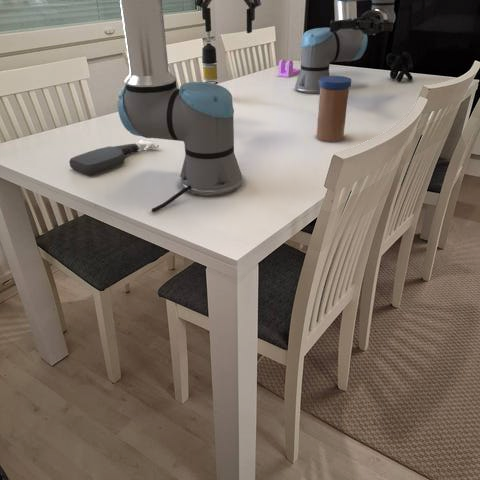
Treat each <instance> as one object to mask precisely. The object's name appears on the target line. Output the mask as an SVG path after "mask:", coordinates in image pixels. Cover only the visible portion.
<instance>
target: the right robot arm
mask: <svg viewBox="0 0 480 480" xmlns="http://www.w3.org/2000/svg"><path fill="white" fill-rule="evenodd" d="M362 1H363V2H364V1H367V0H333V3H334V4H333V5H334V20H333V19H332V20H330V24H329V27H317V28H311V29H309V30H307V31H305V32H304V33H303V34H302V39H301V55H300V73H299V74H298V77H297V80H296V82H295V87H294V88H295V91H296V92H298V93H301V94H308V95H320V87H319V78H321V77H324V76H331V74H330V63H340V62H352V61H357V60H359V59H361V58H362V56H363V55H364V54H365V51H366V49H367V46H368V36H375V35H376V34H379V33H381V32H386V31H387V32H392V31H393V28H394V23H395V21H396V13H395V0H371V9H370V10H366V11H365V12H364V13H362V15H361V16H360V17H358V15H357V13H358V12H357V10H358V9H357V2H362Z"/></svg>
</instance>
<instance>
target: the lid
mask: <svg viewBox="0 0 480 480" xmlns="http://www.w3.org/2000/svg"><path fill="white" fill-rule="evenodd" d="M351 86H352V78H351V77H348V76H343V75H330V76H324V77H321V78H319V87H321V88H325V89H332V90H341V89H347V88H349V89H350V88H351Z"/></svg>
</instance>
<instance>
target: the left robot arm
mask: <svg viewBox="0 0 480 480" xmlns="http://www.w3.org/2000/svg"><path fill="white" fill-rule="evenodd" d="M212 1H213V0H196V1H195V6H197V7H200V8H201V12H202V13H201V16H202V17H201V18H202V20H203V21H204V24H205V33H206V32H210V33H211V32H212V15H211V7H209V5H210V4H211V3H212ZM243 1H244V2H245V4H246V5H247V6H248V8H246V34H251V33H252V32H253V21H255V19H256V8H258V7H260V6H261V5H262V2H261V0H243ZM119 3H120V9H121V17H122V24H123V32H124V37H125V45H126V51H127V58H128V67H129V74H128V76H127V77H126V78H125V80H124V86H123V87H122V89H121V90H120V92H119V94H118V100H117V113H118V116H119V119H120V121H121V124H122V126H123V127H124V128H125V130H126V131H128V132H129V133H130V134H131V135H133V136H137V137H141V138H144V139H159V140H166V141H167V140H169V141H179V142H183V143H184V154H185V155H184V158H183V164H182V168H181V171H180V177H179V183H180V184H179V185H180V188H181V189H180V191H178V192H177V193H175V194H174V195H172V197H170V198H169V199H167V200H166V201H164V202H163V203H161V204H159V205H156V206H155V207H153V208H151V212H152V213H156V212H157V211H159V210H162V209H163V208H165V207H167V206H168V205H170V204H171V203H173V202H174V201H176V200H177V199H178V198H179V197H181V196H182V195H184V194H185V193H187V194H190V195H194V196H199V197H221V196H224V195H229V194H232V193H234V192H235V191H237V190H239V189H240V188H241V187H242V185H243V174H242V171H241V168H240V165H239V163H238V160H237V157H236V154H235V132H234V131H235V129H234V127H235V126H234V122H235V121H234V114H235V109H234V104H233V96H232V93H231V91H230V90H228V89H227V88H226V87H224V86H222V85H219V84H218V83H217V84H215V83H214V82H207V81H199V82H198V81H189V82H185V83H183V84H181V85H180V87H179V88H177V87H178V86H177V77H176V76H175V75H174V74H173V73H171V71H170V70H169V60H168V52H167V51H168V50H167V40H166V30H165V21H164V18H165V17H164V10H163V9H164V7H163V0H119Z"/></svg>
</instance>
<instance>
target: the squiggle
mask: <svg viewBox="0 0 480 480" xmlns="http://www.w3.org/2000/svg"><path fill="white" fill-rule="evenodd" d="M401 57H402V59H401ZM391 59H392V60H391ZM393 60H394V61H393ZM385 61H386V64H387V67H390V68H391V70H390V72H389V78H390V79H391V80H395V79H396V81H397V82H399V83H400V82H402V81H403V79H404V76H406V78H407V80H408V81H412V80H413V79H414V77H413V75H412V74H411V73H410V72H409V71H410V70H412V69H413V68H414V64H413V61H412V57H411V54H410V53H409V52H408V51H403V53H402V54H401V55H396V54H394V53H392V52H390V53H387V55H386V57H385ZM406 62H407V65H408V66H407V67H405V66H404V65H405V64H406ZM400 70H401V71H400Z"/></svg>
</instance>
